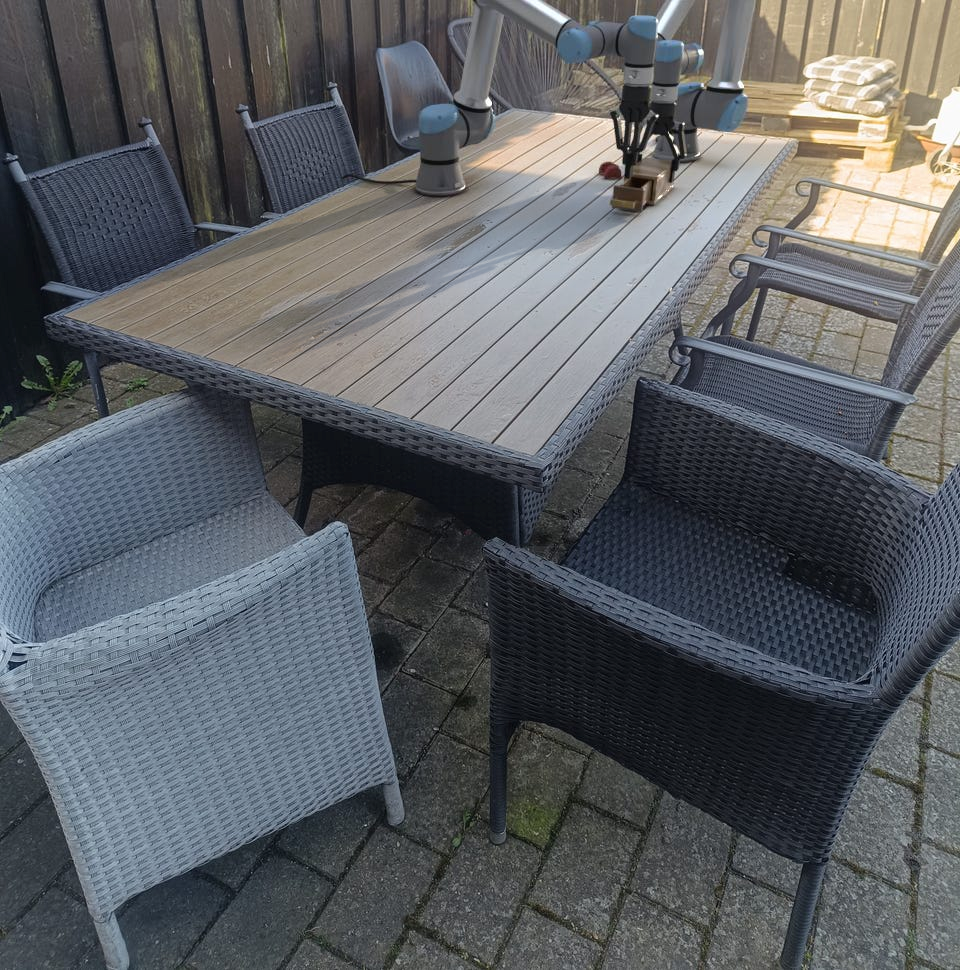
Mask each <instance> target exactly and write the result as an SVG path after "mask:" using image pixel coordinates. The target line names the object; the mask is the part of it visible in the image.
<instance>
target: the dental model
mask: <svg viewBox="0 0 960 970" xmlns="http://www.w3.org/2000/svg"><path fill="white" fill-rule="evenodd" d="M598 174H599V175H601V174H604V175H603V178H604V179H614V178H615V179H616V178H617V179H618V178H622V175H623V173H622V170H621V169H620V166H619V165H618V164H617V163H614V162H613V161H604V162H602V163H601V164H600V166H599V168H598Z"/></svg>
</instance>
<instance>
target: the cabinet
mask: <svg viewBox="0 0 960 970" xmlns="http://www.w3.org/2000/svg"><path fill="white" fill-rule="evenodd" d="M671 163H672V161H671V160H663V159H658V158H656V157H647V156H646V157H645V156H644V157H642V160H641V161H639V162H638V163H637V164H636V165H635V166H633V174H632V177H635V178H643V179H651V180H654V185H653V193H652V198H651V199H650V200H649V201H648V202H647V203H646V204H645V205H651V206H655V205H657V203H659V202H660V201H661V200H662V199H663V198H664V197H666V195H667V194H668V193H669V192H670V191H672V190H673V188H674V181H675V180H674V181H673V182H672V183H669V179H670V171H671ZM626 180H627V178H624V177H623V182H624V181H626Z"/></svg>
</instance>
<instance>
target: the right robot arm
mask: <svg viewBox="0 0 960 970" xmlns="http://www.w3.org/2000/svg"><path fill="white" fill-rule="evenodd" d="M695 2H696V0H665V1H664V3H663V4H662V6H661V8H660V9H659V11H658V12H657V14H656V16H655V17H656V18H657V20H658V38H657V43H656V51H655V59H654V71H653V81H652V83H651V84H652V85H651V86H652V90H651V99H650V105H651V110H652V111H653V112H654V113H655V114H658V115H659V117H658V119H657V120H656V121H655V123H654V125H653V128H652V131H651V134H650V137H649V140H650V139H651V138H652V136H653V135H654V136H656V137H655V142H656V144H655V147H654V151H653V156H654V158H655V159H663V160H671V161H672V163H671V171H670V179H669V183H672V182H673V181H675V175H676V172H678V171H679V169H680V163H688V162H693V161H697V160H698V159H700V147H699V139H698V128H699V129H704V130H712V131H716V132H725V133H733V132H734V131H735V130H737V129H738V128H739V126H740V125H741V123H742V122H743V120H744V118H745V116H746V113H747V110H748V105H749V101H748V100H749V97H748V95H747V94H745V93H744V90H745V89H744V88H745V86H744V85H743V83H742V81H741V79H742V73H743V69H744V64H745V57H746V53H747V47H748V43H749V42H748V41H749V37H750V31H751V27H752V21H753V15H754V12H755V5H756V0H726V1H725V7H724V12H723V13H724V14H723V18H722V22H721V23H722V24H721V30H720V35H719V40H718V46H717V51H716V52H717V53H716V59H715V63H714V70H713V75H712V79H711V80H710V81H709V82H707V83H706V87H705V85H704V84H705V83H704V82H701V81H686V82H680V79H681V76H683V75H685V74H691V73H693V72H695V71H697V70H699V68H700V67H701V66H702V64H703V62H704V59H705V54H704V50H703V48H702V47H701V45H699V44H698V43H695V42H693V43H692V42H687V43H686V44H685V43H683V41H681V40H679V39H678V40H676V39H673V37H674V36H675V34H676V33H677V31H678V29H679V28H680V26H681V24H682V23H683V21H684V19H685V18H686V16H687V15H688V14H689V11H690V10H691V8H692V6H693V5H694V3H695ZM648 122H649V120H648V118H647V116H646V117H645V119H644V120H643V121H642V126H641V133H642V132H643V129H644V127H646V125H647V123H648ZM640 144H641V142H640ZM640 144H639V147H640ZM632 146H633V139H631V141H630V150H629V151H632ZM642 159H643V153H641V152H639V153H638V159H637V163H638V162H639V161H641V160H642ZM673 183H674V182H673Z"/></svg>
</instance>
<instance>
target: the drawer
mask: <svg viewBox="0 0 960 970" xmlns="http://www.w3.org/2000/svg"><path fill="white" fill-rule="evenodd" d="M653 185H654V180H651V179H643V178H635V177H631V178H629V179H627V180H626V181H624V180H623V182H622V183H620V184H619V185H617V184H615V185H613V190H612V191H613V192H612V198H610V199H609V206H611V208H612V209H618V210H625V211H632V212H638V213H639V212H640V213H642V212H643V209H644V206H645V205H647V204H646V203H647V202H648V201H649V200H650V199H651V198H652V193H653Z"/></svg>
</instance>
